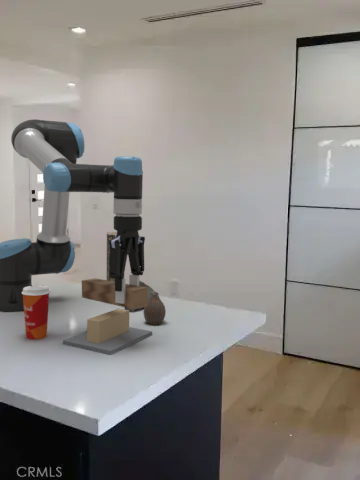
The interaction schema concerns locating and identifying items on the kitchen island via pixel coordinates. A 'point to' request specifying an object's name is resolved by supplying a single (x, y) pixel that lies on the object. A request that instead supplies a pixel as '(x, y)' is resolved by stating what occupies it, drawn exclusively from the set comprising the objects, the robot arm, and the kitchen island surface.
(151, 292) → the mineral rock
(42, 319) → the paper cup
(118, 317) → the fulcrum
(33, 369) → the kitchen island surface
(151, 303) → the vase
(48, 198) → the robot arm
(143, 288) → the walnut bar
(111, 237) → the paper tube
